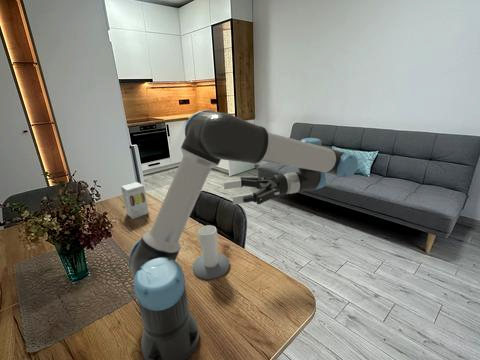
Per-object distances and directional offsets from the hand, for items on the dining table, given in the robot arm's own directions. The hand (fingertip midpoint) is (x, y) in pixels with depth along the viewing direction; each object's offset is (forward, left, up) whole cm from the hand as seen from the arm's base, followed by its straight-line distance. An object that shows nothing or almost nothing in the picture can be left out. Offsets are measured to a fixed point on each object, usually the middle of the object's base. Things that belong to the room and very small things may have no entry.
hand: (228, 192), depth 89 cm
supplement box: (+67, +24, -30) cm, 77 cm away
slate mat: (+3, +8, -30) cm, 31 cm away
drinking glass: (+3, +8, -29) cm, 30 cm away
